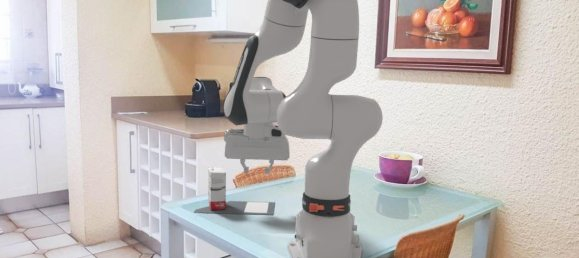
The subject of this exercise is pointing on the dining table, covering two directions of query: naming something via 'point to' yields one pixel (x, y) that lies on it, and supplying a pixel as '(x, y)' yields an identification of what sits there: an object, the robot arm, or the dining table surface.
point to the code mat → (242, 208)
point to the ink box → (216, 188)
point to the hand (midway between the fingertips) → (257, 173)
